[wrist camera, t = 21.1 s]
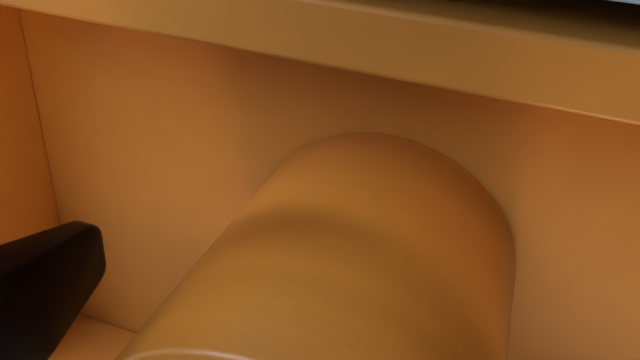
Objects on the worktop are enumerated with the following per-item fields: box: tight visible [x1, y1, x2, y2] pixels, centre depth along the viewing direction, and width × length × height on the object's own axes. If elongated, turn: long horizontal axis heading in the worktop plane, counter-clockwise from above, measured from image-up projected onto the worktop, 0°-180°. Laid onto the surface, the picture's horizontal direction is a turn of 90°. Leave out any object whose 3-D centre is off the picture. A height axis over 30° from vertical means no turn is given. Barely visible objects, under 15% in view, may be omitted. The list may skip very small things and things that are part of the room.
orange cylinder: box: [114, 133, 516, 360], centre depth 9 cm, size 5×5×5 cm
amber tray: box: [0, 0, 640, 360], centre depth 10 cm, size 10×16×3 cm, turn 86°
